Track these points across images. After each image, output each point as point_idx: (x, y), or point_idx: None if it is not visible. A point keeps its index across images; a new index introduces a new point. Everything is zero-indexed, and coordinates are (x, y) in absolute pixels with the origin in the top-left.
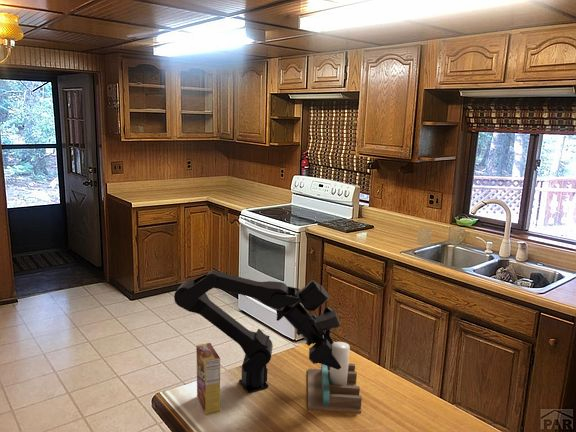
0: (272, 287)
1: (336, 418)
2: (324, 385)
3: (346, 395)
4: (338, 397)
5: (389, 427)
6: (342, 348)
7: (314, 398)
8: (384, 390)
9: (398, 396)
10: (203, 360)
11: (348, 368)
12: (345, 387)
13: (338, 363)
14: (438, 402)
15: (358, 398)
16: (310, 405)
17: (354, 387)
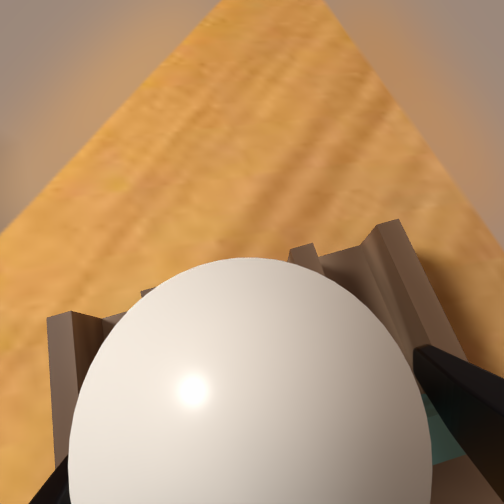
0: None
1: (489, 330)
2: (434, 455)
3: (417, 295)
4: (453, 336)
5: (422, 137)
6: (342, 369)
7: None
8: (183, 181)
9: (209, 132)
10: None
11: (85, 351)
12: None
13: (490, 373)
14: (200, 28)
15: (405, 233)
16: (494, 494)
17: (313, 270)
